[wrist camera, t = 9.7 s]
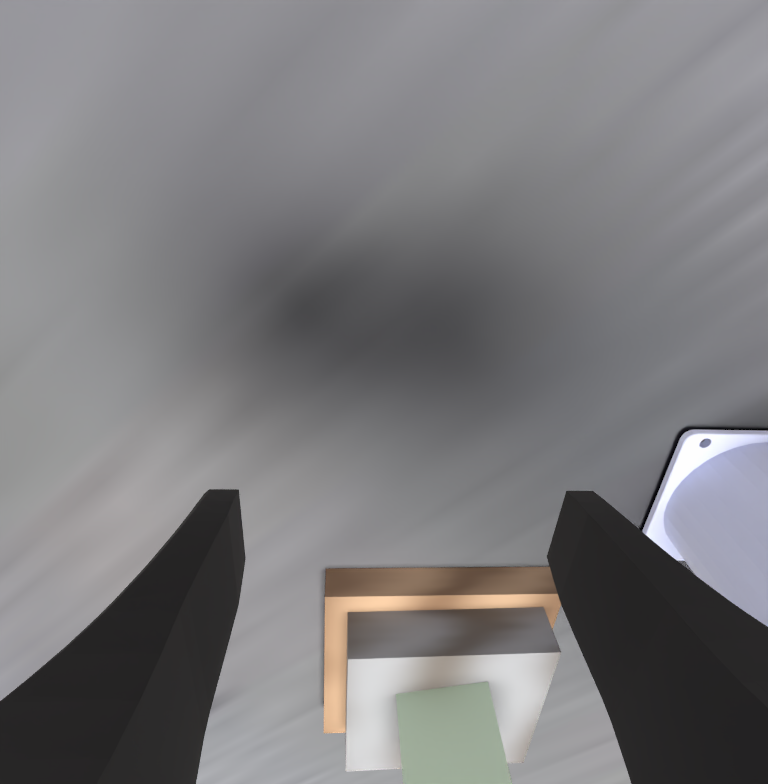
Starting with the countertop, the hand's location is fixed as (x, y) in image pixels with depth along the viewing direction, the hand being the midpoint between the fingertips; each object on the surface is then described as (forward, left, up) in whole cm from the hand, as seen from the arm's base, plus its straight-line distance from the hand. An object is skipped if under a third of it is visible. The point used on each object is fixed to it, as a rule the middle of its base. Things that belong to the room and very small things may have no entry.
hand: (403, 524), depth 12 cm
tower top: (-4, +19, -9) cm, 21 cm away
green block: (-4, +19, -6) cm, 20 cm away
